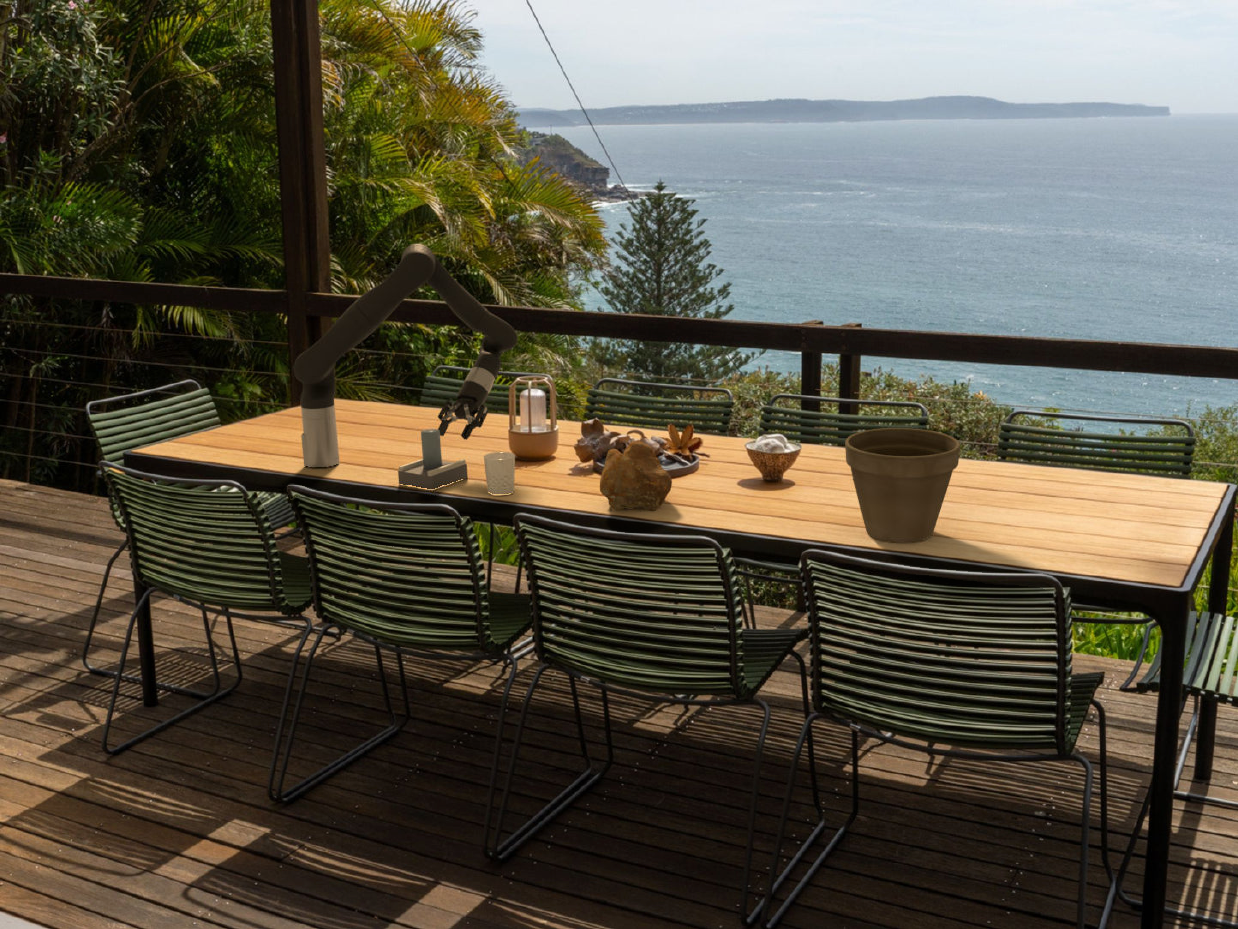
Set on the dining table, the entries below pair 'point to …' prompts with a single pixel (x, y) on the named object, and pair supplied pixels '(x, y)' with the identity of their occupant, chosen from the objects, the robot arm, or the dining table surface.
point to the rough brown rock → (634, 478)
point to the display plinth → (432, 474)
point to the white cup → (500, 472)
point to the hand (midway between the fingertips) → (451, 436)
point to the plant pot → (901, 480)
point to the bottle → (431, 449)
